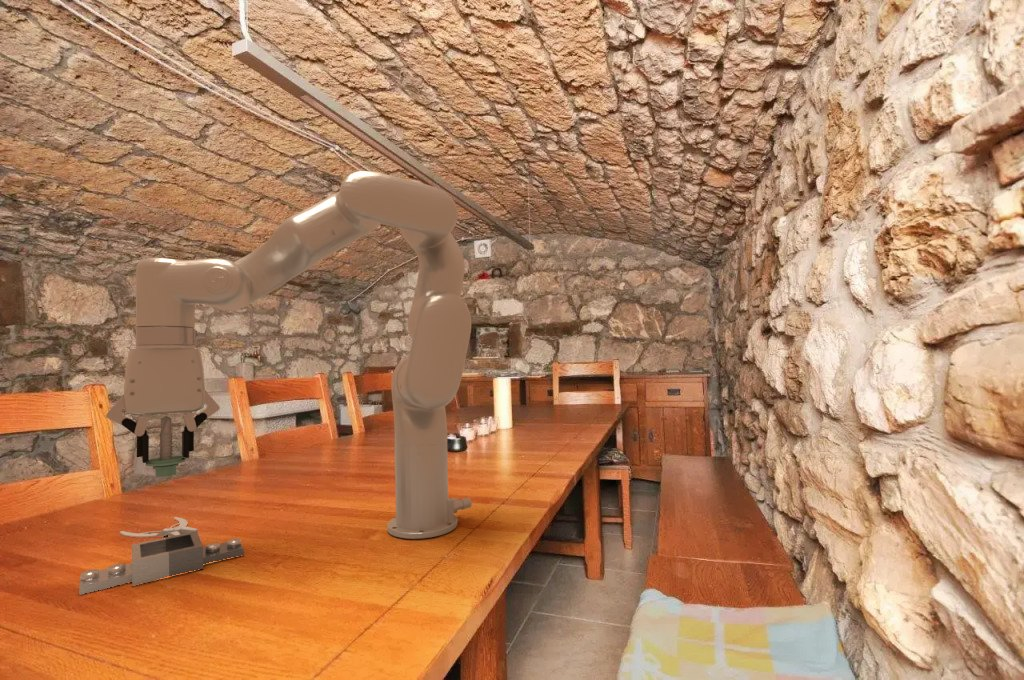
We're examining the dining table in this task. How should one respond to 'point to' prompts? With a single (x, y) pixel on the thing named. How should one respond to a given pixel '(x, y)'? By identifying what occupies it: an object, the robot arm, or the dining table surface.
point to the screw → (165, 452)
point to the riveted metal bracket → (160, 561)
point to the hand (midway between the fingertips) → (165, 457)
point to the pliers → (165, 530)
